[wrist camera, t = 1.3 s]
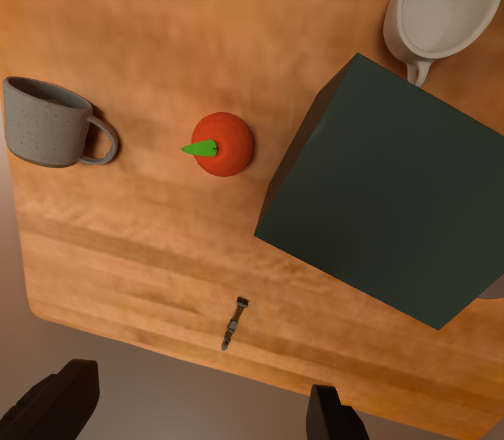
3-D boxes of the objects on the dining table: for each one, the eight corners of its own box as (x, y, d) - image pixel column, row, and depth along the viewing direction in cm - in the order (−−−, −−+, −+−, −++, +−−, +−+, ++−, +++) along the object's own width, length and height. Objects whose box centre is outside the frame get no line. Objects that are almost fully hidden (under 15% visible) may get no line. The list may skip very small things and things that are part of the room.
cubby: (434, 156, 28) (600, 191, 13) (369, 237, 33) (438, 331, 18) (319, 91, 27) (357, 51, 12) (268, 184, 32) (253, 235, 17)
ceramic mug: (43, 141, 34) (-20, 146, 27) (51, 80, 31) (-19, 67, 23) (114, 176, 34) (71, 190, 27) (129, 120, 31) (84, 120, 24)
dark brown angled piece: (220, 337, 42) (217, 351, 37) (238, 293, 42) (237, 302, 37) (229, 341, 42) (228, 355, 37) (247, 297, 42) (248, 306, 37)
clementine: (199, 173, 32) (177, 185, 26) (190, 117, 30) (163, 115, 23) (259, 169, 31) (251, 181, 25) (254, 110, 29) (245, 106, 22)
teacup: (384, -25, 23) (411, -66, 18) (472, -27, 22) (525, -71, 17) (362, 93, 27) (379, 86, 22) (437, 95, 26) (473, 88, 21)
